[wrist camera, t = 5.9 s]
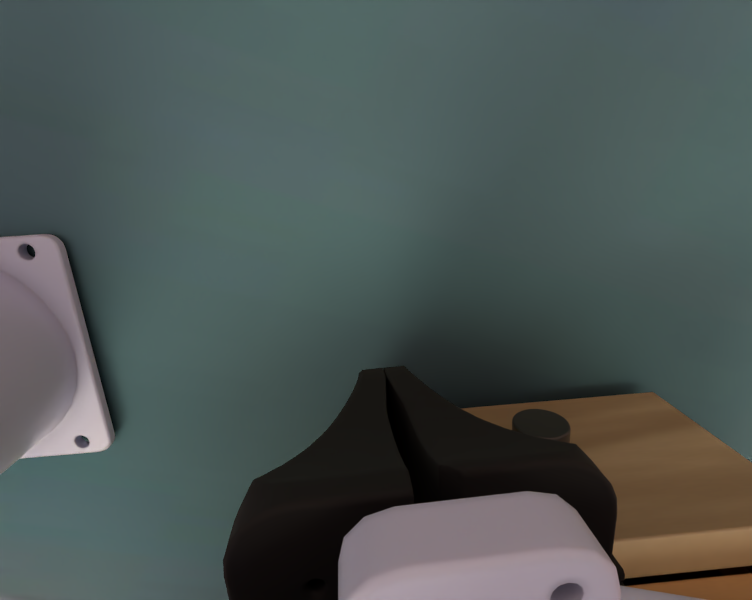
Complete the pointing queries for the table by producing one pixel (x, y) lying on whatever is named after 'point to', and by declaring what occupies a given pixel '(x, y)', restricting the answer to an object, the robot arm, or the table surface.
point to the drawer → (653, 481)
